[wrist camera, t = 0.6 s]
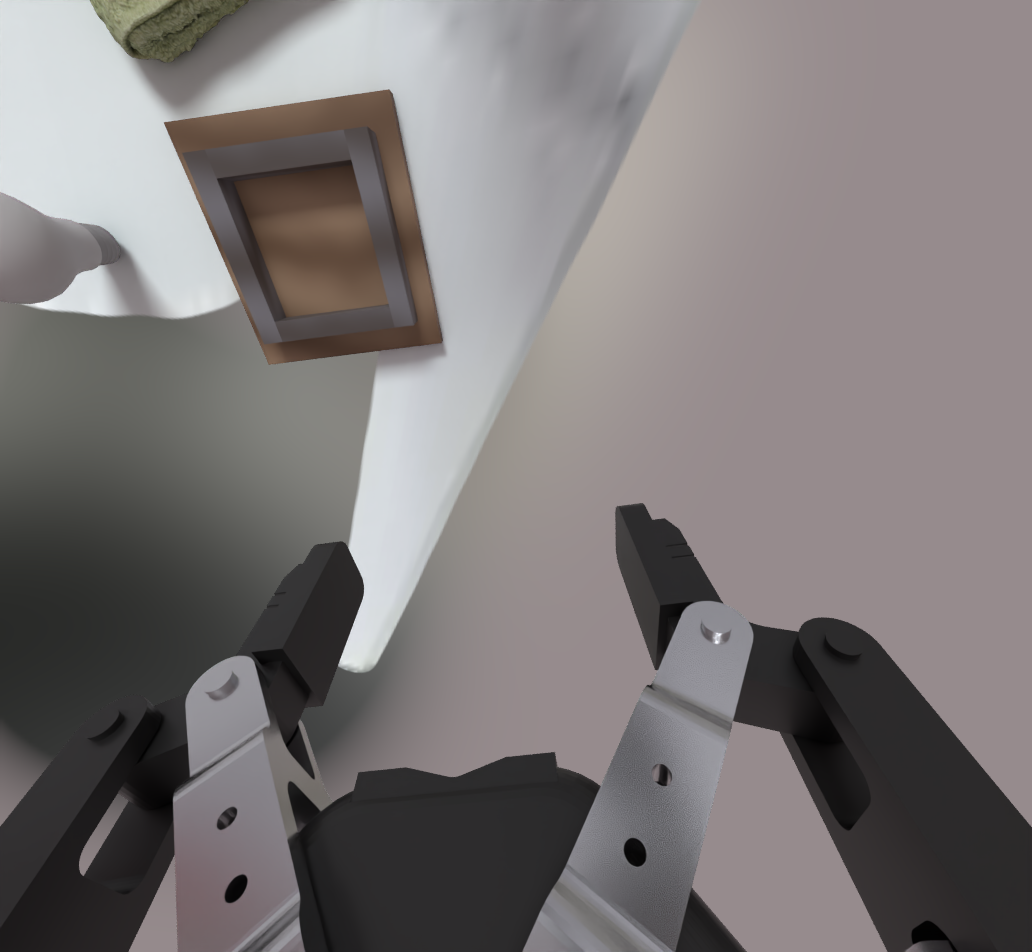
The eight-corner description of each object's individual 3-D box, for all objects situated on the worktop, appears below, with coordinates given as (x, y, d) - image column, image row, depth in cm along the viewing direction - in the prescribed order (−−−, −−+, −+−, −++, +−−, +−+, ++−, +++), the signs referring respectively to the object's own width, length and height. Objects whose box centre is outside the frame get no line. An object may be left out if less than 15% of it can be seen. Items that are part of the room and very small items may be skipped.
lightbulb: (71, 272, 32) (-110, 290, 22) (53, 181, 29) (-165, 157, 19) (159, 298, 33) (21, 326, 23) (149, 213, 30) (-12, 205, 20)
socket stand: (174, 125, 27) (140, 115, 25) (392, 94, 27) (381, 79, 24) (274, 361, 36) (256, 371, 33) (442, 340, 35) (438, 348, 33)
